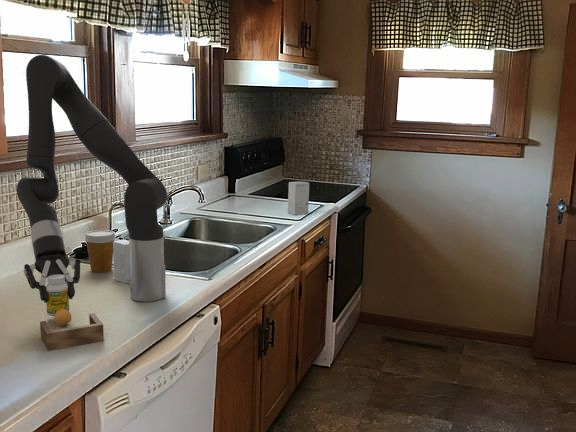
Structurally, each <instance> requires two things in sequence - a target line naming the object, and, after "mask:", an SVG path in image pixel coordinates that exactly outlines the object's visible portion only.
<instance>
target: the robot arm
mask: <svg viewBox="0 0 576 432" xmlns="http://www.w3.org/2000/svg"><path fill="white" fill-rule="evenodd" d="M25 78H26V79H25V80H26V81H25V82H26V88H27V102H28V103H27V105H28V136H27V146H26V147H27V150H26V162H25V163H26V165H27V167H29V168H32V169H35V170H38V171H40V172H41V173H42V176H43V177H37V176H35V177H33V176H24V177H22V178H20V180H18V182H17V185H16V195H17V198H18V201H19V202H20V204H21V206H22V207H23V210H24V211H25V213H26V216H27V217H28V220H29V226H30V227H29V228H30V239H31V245H32V251H33V256H34V260H35V262H34V263H33V264H28V263H26V264H24V266H23V273H24V275H25V278H26V280H27V283H28V285H29V287H30V289H32V290H33V289H37V290H38V292H39V296H40V301H43V303H45V304H46V302H47V301H48V296H47V291H46V286H47V285H45V284H46V282H47V280H48V276H51V275H56V274H61V275H64V276H65V282H64V283H66V284H67V285H68V294H69V300H73V297H75V294H76V290H75V284H78V283H79V282H80V279H81V278H80V277H81V259H80V258H76V259H75V260H74V259H73V260H72V259H70V258H68V256H67V252H66V248H65V244H64V243H65V242H64V239H63V238H64V237H63V233H62V229H61V227H60V223H59V219H58V214H57V210H56V208H55V207H54V206H53V205H51V204H54V203H55V202H56V201H57V199H58V198H59V195H60V194H59V193H60V189H59V184H58V181H57V175H56V168H55V154H56V131H55V130H56V129H55V124H54V123H55V122H54V118H53V101H54V102H55V103H56V104H57V105H58V106H59V107H60V108H61V110H62V111H63V112H64V114H65V116H66V117H67V119H68V121H69V123H70V126H71V128H72V130H73V132H74V133H75V135H76V137H77V138H78V139H79V141H80V142H81V144H82V145H83V146H84V147H85V148H86V149H87V151H88V152H89V153H90V154H91V155H92V156H93V157H95V158H96V159H97V160H98V161H100V162H101V163H102V164H104V165H105V166H107V167H108V168H110V169H112V170H113V171H114V172H116V173H117V174H119V176H120V177H121V178H122V179H123V181H125V182H126V183H127V187H126V189H125V191H124V200H123V202H124V203H123V205H124V218H125V221H124V222H125V226H126V230H127V232H128V241H129V256H130V283H129V284H130V285H129V288H130V289H129V292H130V299H131V300H133V301H135V302H142V303H144V302H154V301H155V302H156V301H159V300H162V299H166V297H167V296H166V295H167V293H166V288H167V287H166V265H165V261H164V260H165V258H164V256H165V255H164V254H165V253H164V252H165V251H164V227H163V226H162V225H161V224H159V221H158V209H161V208H163V206H164V205H165V204H166V203H167V199H168V192H167V189H166V186H165V184H164V183H163V182H162V180H160V179H159V177H157V175H155V174H154V173H153V171H151V169H149V168H148V167H147V166H146V165H145V164H144V163H143V162H142V160H140V158H139V157H138V156H137V155H136V154H135V153H134V150H132V148H131V147H130V146H129V145H128V144H127V142H126V141H125V140H124V138H123V137H122V136H121V134H120V133H119V132H118V131H117V130H116V128H115V127H114V126H113V124H112V123H110V121H109V120H108V119H107V117H106V116H105V115H104V114H103V113H102V112H101V111H100V109H98V107H96V105H95V103H93V102H92V101H91V100H90V99H89V98H88V97H87V96H86V95H85V94H84V91H82V90H81V88H80V87H79V86H78V84H77V82H76V81H75V79H74V78H73V76H72V75H71V73H70V71H69V70H68V69H67V67H66V66H65V65H64V64H63V63H62V62H61V61H59V60H57V59H56V58H53V57H52V56H49V55H46V54H39V55H35V56H34V57H32V58H31V59H29V61H28V62H27V66H26V69H25ZM69 266H70V267H71V269H72V270H73V276H72V275H70V272H69V270H68V269H67V268H68V267H69ZM35 270H36V271H38V272H39V274H41V277H40V280H39V281H37V280H36V277H35V276H34V272H35Z"/></svg>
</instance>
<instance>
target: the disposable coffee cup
mask: <svg viewBox="0 0 576 432" xmlns="http://www.w3.org/2000/svg"><path fill="white" fill-rule="evenodd" d="M116 237H117V236H116V234H115V232H114V231H113V230H109V229H97V230H96V229H94V230H91V231H87V232H86V233H85V236H84V237H83V238H84V240H85V242H86V243H85V244H86V248H87V254H88V259H89V265H90V271H91V272H93V273H107V272H111V271H112V267H113V261H114V258H113V241H116Z"/></svg>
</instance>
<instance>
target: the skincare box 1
mask: <svg viewBox="0 0 576 432" xmlns="http://www.w3.org/2000/svg"><path fill="white" fill-rule="evenodd" d="M113 279H114V280H115V281H116V282H121V283H125V284H130V256H129V239H118V240H114V241H113Z"/></svg>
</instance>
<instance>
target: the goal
mask: <svg viewBox="0 0 576 432" xmlns="http://www.w3.org/2000/svg"><path fill="white" fill-rule="evenodd" d="M88 316H89V317H88V319H89V320H88V322H89V324H86V325H79V326H74V327H68V328H61V329H55V330H51V328H50V325H48V324H49V323H48V322H47V321H46V320H42V321H39V324H40V325H39V327H40V330H39V331H40V339H41V341H42V343H43V345H44V347H45V348H46V350H47V351H48V352H49V351H55V350H60V349H64V348H65V349H66V348H69V347H75V346H76V347H77V346H82V345H88V344H92V343H94V344H95V343H99V342H104V341H105V338H104V337H105V336H104V323H102V321H101V320H100V319H99V317H98V316H97V315H96V314H95V313H89V314H88Z"/></svg>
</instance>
